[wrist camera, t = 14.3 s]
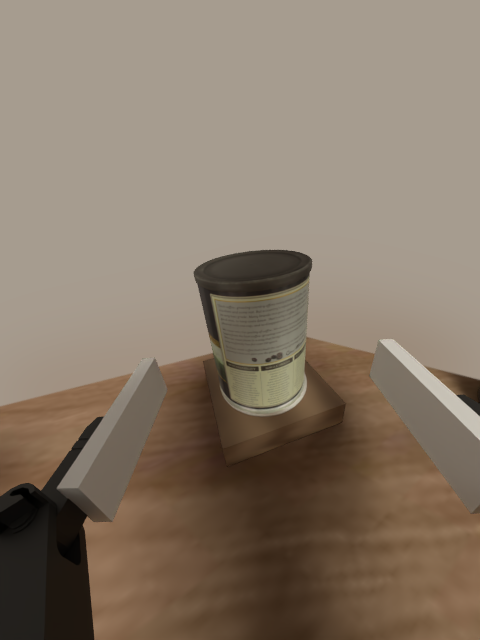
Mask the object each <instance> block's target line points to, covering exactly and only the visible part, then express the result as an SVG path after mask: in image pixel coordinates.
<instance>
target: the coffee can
mask: <svg viewBox="0 0 480 640" xmlns="http://www.w3.org/2000/svg"><path fill="white" fill-rule="evenodd" d="M311 268H312V259H311V258H310V257H309V256H307V255H305V254H302V253H300V252H295V251H287V250H261V251H249V252H243V253H236V254H231V255H227V256H222V257H219V258H215V259H212V260H210V261H207V262H205V263H203V264H202V265H200V266H199V267H197V268H196V269H195V271H194V277H195V280H196V283H197V284H198V288H199V293H200V297H201V301H202V306H203V310H204V315H205V319H206V324H207V328H208V332H209V337H210V341H211V346H212V350H213V355H214V359H215V364H216V368H217V373H218V377H219V382H220V389H221V392H222V394H223V396H224V397H225V398H226V400H227V401H228V402H229V403H230V404H231V405H233V406H234V407H236V408H238V409H240V410H243V411H246V412H250V413H256V414H268V413H273V412H277V411H280V410H283V409H285V408H287V407H288V406H290V405H291V404H293V403H294V402H295V401H296V400H297V399H298V398H299V397H300V395H301V393H302V391H303V388H304V384H305V379H304V369H305V349H306V329H307V312H308V291H309V273H310V271H311Z"/></svg>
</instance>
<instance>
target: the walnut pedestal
mask: <svg viewBox="0 0 480 640" xmlns="http://www.w3.org/2000/svg"><path fill="white" fill-rule="evenodd" d="M203 363H204V368H205V372H206V377H207V381H208V386H209V391H210V395H211V400H212V404H213V409H214V413H215V418H216V422H217V427H218V431H219V436H220V441H221V445H222V450H223V453H224V457H225V461H226V464H227V467H228V466H231V465H233V464H236V463H238V462H241V461H243V460H246V459H249V458H251V457H254V456H256V455H259V454H261V453H264V452H266V451H269V450H272V449H274V448H277V447H279V446H282V445H284V444H287V443H290V442H292V441H295V440H297V439H300V438H302V437H305V436H307V435H310V434H313V433H315V432H318V431H320V430H323V429H325V428H328V427H331V426H333V425H336V424H338V423H341V422H342V419H343V414H344V409H345V404H346V403H345V402H344V401H343V400H342V399H341V398H340V397H339V396H338V395H337V394H336V393H335V391H334V390H333V389H332V388H331V387H330V386H329V385H328V384H327V383H326V382H325V381H324V380H323V379H322V377H321V376H320V375H319V374H318V373H317V372H316V371H315V370H314V369H313V368H312V367H311V366H310V365H309V363H308V362H307V361H306V360H305V369H304V379H305V384H304V388H303V391H302V393H301V395H300V397H299V398H298V399H297V400H296V401H295V402H294V403H293V404H291V405H290V406H288V407H287V408H285V409H283V410H280V411H277V412H273V413H268V414H256V413H250V412H246V411H243V410H240V409H238V408H236V407H234V406H233V405H231V404H230V403H229V402H228V401H227V400H226V398H225V397H224V396H223V394H222V392H221V389H220V382H219V377H218V373H217V368H216V364H215V359H214V358H213V359H209V360H206V361H203Z"/></svg>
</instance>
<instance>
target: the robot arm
mask: <svg viewBox="0 0 480 640" xmlns="http://www.w3.org/2000/svg"><path fill="white" fill-rule="evenodd" d="M370 378H371V379H372V380H373V382H374V383H375V384H376V386H377V387H378V388H379V390H380V391H381V392H382V394H383V395H384V397H385V398H386V399H387V401H388V402H389V403H390V405H391V406H392V407H393V409H394V410H395V411H396V413H397V414H398V415H399V417H400V418H401V420H402V421H403V422H404V424H405V425H406V426H407V428H408V429H409V430H410V432H411V433H412V434H413V436H414V437H415V438H416V440H417V441H418V443H419V444H420V445H421V447H422V448H423V449H424V451H425V452H426V453H427V455H428V456H429V457H430V459H431V460H432V461H433V463H434V464H435V466H436V467H437V468H438V470H439V471H440V472H441V474H442V475H443V476H444V478H445V479H446V480H447V482H448V483H449V485H450V486H451V487H452V489H453V490H454V491H455V493H456V494H457V495H458V497H459V498H460V499H461V501H462V502H463V503H464V505H465V506H466V508H467V509H468V510H469V512H470V513H471V514H476V513H480V404H479V403H480V387H479V389H478V400H479V403H477V402H476V401H474V400H472V399H470V398H469V397H467V396H465V395H455V394H454V393H453V392H452V391H451V390H450V389H448V388H447V387H446V386H445V385H444V384H443V383H442V382H441V381H439V380H438V379H437V378H436V377H435V376H434V375H433V374H432V373H431V372H429V371H428V370H427V369H426V368H425V367H424V366H423V365H422V364H420V363H419V362H418V361H417V360H416V359H415V358H414V357H412V356H411V355H410V354H409V353H408V352H407V351H406V350H405V349H404V348H402V347H401V346H400V345H399V344H398V343H397V342H396V341H395V340H393V339H385V340H378V344H377V348H376V352H375V356H374V360H373V364H372V368H371V372H370ZM166 392H167V387H166V384H165V382H164V379H163V377H162V374H161V372H160V369H159V367H158V364H157V362H156V359H155V358H144V359H142V361H141V362H140V364H139V365H138V367H137V368H136V370H135V371H134V373H133V374H132V376H131V377H130V379H129V380H128V382H127V383H126V385H125V386H124V388H123V389H122V391H121V392H120V394H119V395H118V397H117V398H116V400H115V401H114V403H113V404H112V406H111V407H110V409H109V410H108V412H107V413H106V415H105V416H104V417H97V418H96V419H95V420H94V421H93V422H92V423H91V424H90V425H89V426H87V427H86V429H85V430H84V432H83V433H82V434H81V436H80V437H79V440H78V441H76V443H75V444H74V446H73V447H72V450H71V451H69V453H68V454H67V456H66V457H65V458H64V460H63V461H62V463H61V464H60V465H59V467H58V468H57V470H56V471H55V472H54V474H53V475H52V477H51V478H50V479H49V481H48V482H47V484H46V485H45V486H44V488H43V489H42V490H41V491H40V490H39V489H38V488H36V487H35V486H34V485H32V484H30V483H25V484H20V485H18V486H16V487H14V488H12V489H10V490H9V491H7V492H6V493H5V494H3V495H2V496H0V640H94V630H93V619H92V608H91V596H90V585H89V573H88V562H87V551H86V539H85V530H84V528H83V523H84V521H85V519H86V517H87V516H88V517H89V518H90V519H91V520H92V521H93V522H113V519H114V517H115V514H116V512H117V510H118V507H119V505H120V502H121V500H122V498H123V495H124V493H125V490H126V488H127V486H128V483H129V481H130V478H131V476H132V474H133V471H134V469H135V466H136V464H137V462H138V459H139V457H140V454H141V452H142V450H143V447H144V445H145V442H146V440H147V438H148V435H149V433H150V431H151V428H152V426H153V423H154V421H155V419H156V416H157V414H158V411H159V409H160V407H161V404H162V402H163V399H164V397H165V395H166Z"/></svg>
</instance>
